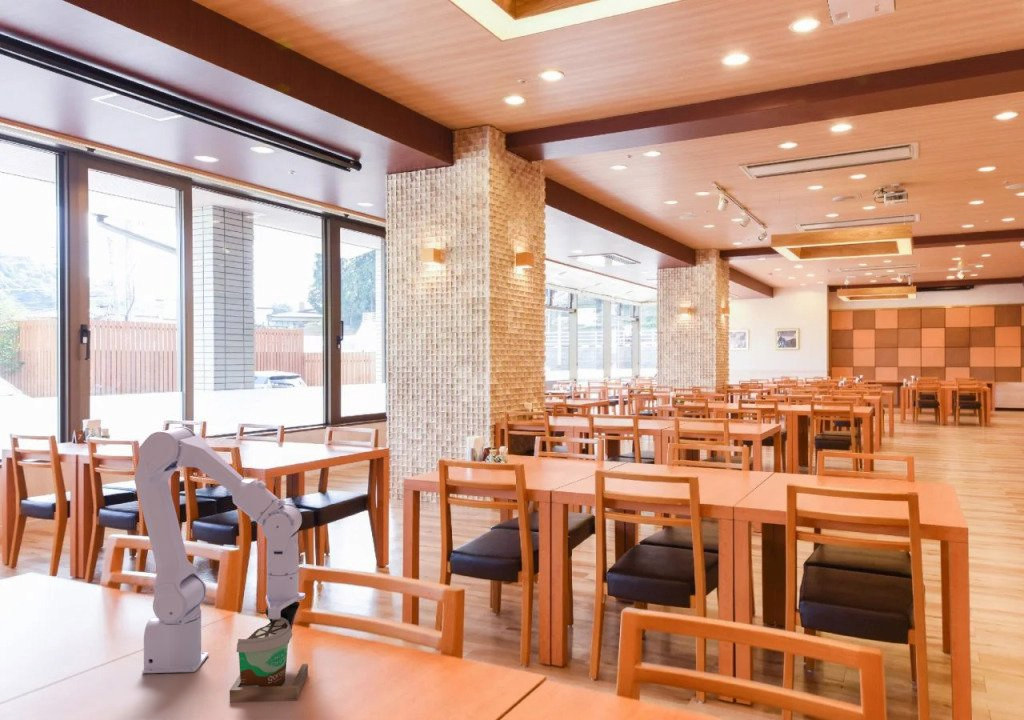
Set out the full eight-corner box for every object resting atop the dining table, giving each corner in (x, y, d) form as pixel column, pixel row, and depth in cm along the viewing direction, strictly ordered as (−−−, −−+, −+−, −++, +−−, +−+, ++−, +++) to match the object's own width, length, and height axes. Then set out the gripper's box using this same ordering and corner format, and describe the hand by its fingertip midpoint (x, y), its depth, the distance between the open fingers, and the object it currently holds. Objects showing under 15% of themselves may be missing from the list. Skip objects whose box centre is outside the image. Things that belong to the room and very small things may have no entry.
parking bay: (229, 702, 127) (229, 690, 127) (245, 676, 137) (245, 665, 137) (296, 700, 128) (296, 688, 128) (307, 674, 138) (307, 663, 138)
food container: (269, 702, 127) (269, 643, 127) (236, 698, 128) (236, 640, 128) (304, 671, 139) (304, 617, 139) (274, 668, 140) (274, 614, 140)
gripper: (296, 583, 135) (296, 659, 135) (311, 560, 149) (311, 628, 149) (255, 583, 134) (256, 660, 134) (275, 560, 149) (275, 629, 149)
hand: (282, 643), depth 142 cm, fingers closed
